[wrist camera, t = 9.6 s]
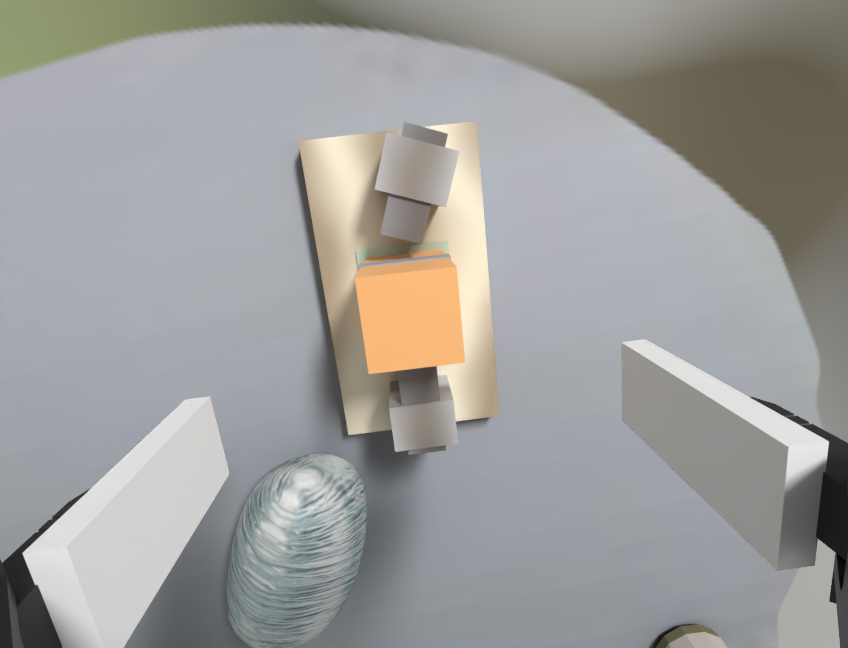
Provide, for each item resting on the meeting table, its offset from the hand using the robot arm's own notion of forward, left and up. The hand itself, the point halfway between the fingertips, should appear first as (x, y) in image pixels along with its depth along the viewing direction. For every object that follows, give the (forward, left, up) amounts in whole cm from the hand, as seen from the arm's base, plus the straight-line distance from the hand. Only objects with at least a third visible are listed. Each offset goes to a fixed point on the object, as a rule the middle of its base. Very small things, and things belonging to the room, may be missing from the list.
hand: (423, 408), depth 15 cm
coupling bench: (0, +1, -19) cm, 19 cm away
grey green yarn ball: (-10, -16, -19) cm, 27 cm away
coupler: (0, +1, -17) cm, 17 cm away
